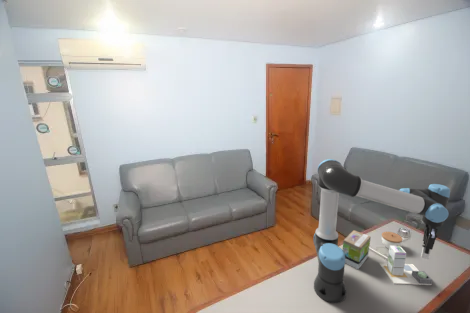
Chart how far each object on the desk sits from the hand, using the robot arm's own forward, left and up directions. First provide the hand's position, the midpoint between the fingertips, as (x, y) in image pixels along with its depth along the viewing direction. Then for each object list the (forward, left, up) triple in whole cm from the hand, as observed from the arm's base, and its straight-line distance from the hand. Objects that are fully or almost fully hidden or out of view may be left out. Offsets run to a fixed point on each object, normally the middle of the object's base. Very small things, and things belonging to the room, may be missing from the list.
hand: (424, 257), depth 112 cm
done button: (0, 0, -13) cm, 13 cm away
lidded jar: (0, +27, -14) cm, 31 cm away
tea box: (-27, +15, -14) cm, 34 cm away
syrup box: (-10, +5, -14) cm, 17 cm away
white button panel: (-6, +4, -14) cm, 16 cm away
